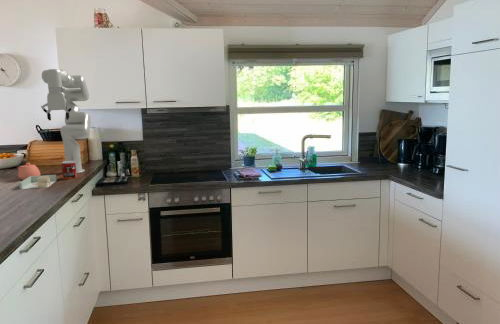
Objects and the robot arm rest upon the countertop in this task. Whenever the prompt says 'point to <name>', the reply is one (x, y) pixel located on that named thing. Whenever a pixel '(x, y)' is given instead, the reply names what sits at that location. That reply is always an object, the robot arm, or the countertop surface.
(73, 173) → the canned food
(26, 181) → the arena
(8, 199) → the countertop surface
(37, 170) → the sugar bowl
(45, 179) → the cube
